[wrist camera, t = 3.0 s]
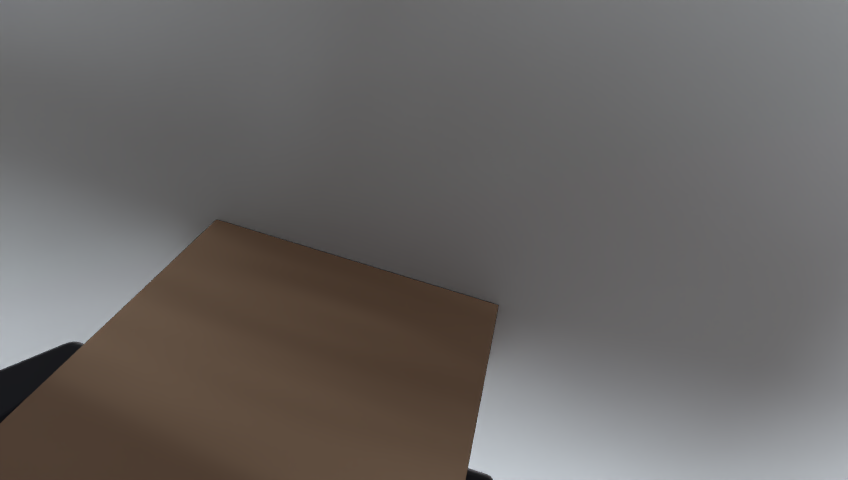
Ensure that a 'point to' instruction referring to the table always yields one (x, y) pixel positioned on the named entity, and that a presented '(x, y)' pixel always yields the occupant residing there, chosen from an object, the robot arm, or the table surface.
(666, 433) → the table surface
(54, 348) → the robot arm
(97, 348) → the domino
